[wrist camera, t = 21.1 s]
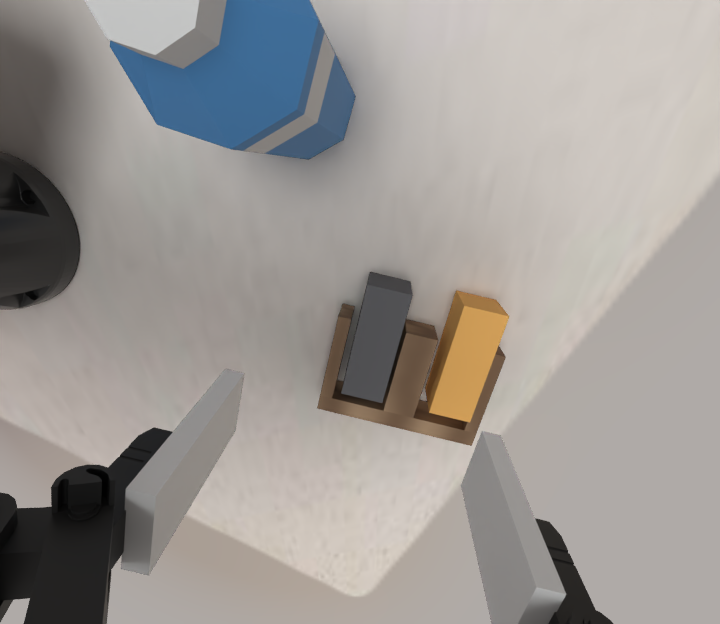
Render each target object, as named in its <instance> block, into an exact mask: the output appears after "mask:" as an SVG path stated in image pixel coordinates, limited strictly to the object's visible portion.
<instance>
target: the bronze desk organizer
mask: <svg viewBox="0 0 720 624" xmlns="http://www.w3.org/2000/svg"><path fill="white" fill-rule="evenodd" d="M353 311H354V306H350V305H346V304H343V305H342V308H341V311H340V313H339V316H338V320H337V325H336V329H335V333H334V338H333V342H332V346H331V351H330V355H329V359H328V364H327V368H326V372H325V377H324V381H323V385H322V390H321V394H320V398H319V403H318V407H317V408H318V409H322V410H326V411H330V412H334V413H338V414H343V415H347V416H351V417H355V418H359V419H363V420H367V421H371V422H376V423H380V424H384V425H388V426H392V427H396V428H400V429H404V430H409V431H413V432H417V433H421V434H425V435H429V436H433V437H437V438H442V439H446V440H450V441H454V442H458V443H462V444H466V445H470V446H472V443H473V441H474V438H475V435H476V433H477V430H478V428H479V425H480V422H481V420H482V417H483V415H484V412H485V409H486V407H487V404H488V402H489V399H490V397H491V394H492V391H493V389H494V386H495V384H496V381H497V378H498V376H499V373H500V371H501V368H502V365H503V363H504V360H505V358H506V357H505V355H504V354H503V352H502V350H501V349H500V347H499V346H498V348H497V351H496V354H495V357H494V359H493V362H492V365H491V367H490V370H489V373H488V375H487V378H486V381H485V383H484V386H483V389H482V392H481V394H480V397H479V400H478V402H477V405H476V408H475V410H474V413H473V416H472V419H471V421H470V422H466V421H462V420H457V419H453V418H449V417H445V416H441V415H437V414H432V413H429V409H428V402H425V401H421V400H419V398H420V395H421V392H422V389H423V386H424V383H425V380H426V377H427V374H428V370H429V367H430V364H431V361H432V358H433V355H434V352H435V349H436V346H437V342H438V338H437V335H436V331H435V328H434V326H432V325H428V324H424V323H420V322H415V321H411V320H407V319H406V320H405V324H404V328H403V331H402V335H401V338H400V342H399V345H398V349H397V352H396V356H395V359H394V363H393V366H392V370H391V374H390V377H389V381H388V384H387V388H386V391H385V395H384V398H383V402H382V403H379V402H375V401H371V400H366V399H362V398H358V397H354V396H350V395H345V394H341V392H342V387H343V383H344V382H343V381H339V380H337V377H338V373H339V369H340V365H341V361H342V357H343V352H344V348H345V344H346V340H347V336H348V332H349V328H350V324H351V319H352V315H353Z"/></svg>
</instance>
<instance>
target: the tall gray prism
mask: <svg viewBox="0 0 720 624" xmlns="http://www.w3.org/2000/svg"><path fill="white" fill-rule="evenodd" d="M412 296H413V295H412V289H411V283H410V281H407V280H403V279H398V278H394V277H390V276H386V275H382V274H378V273H373V272H370V274H369V279H368V283H367V287H366V291H365V295H364V299H363V303H362V307H361V312H360V316H359V320H358V324H357V328H356V332H355V336H354V340H353V345H352V349H351V353H350V357H349V361H348V365H347V369H346V374H345V378H344V383H343V387H342V392H341V394H345V395H350V396H354V397H358V398H362V399H366V400H371V401H375V402H379V403H382V402H383V398H384V395H385V391H386V388H387V384H388V381H389V377H390V374H391V370H392V366H393V363H394V359H395V356H396V352H397V349H398V345H399V342H400V338H401V335H402V331H403V328H404V324H405V320H406V317H407V313H408V310H409V306H410V303H411V299H412Z"/></svg>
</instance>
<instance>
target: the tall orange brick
mask: <svg viewBox="0 0 720 624" xmlns="http://www.w3.org/2000/svg"><path fill="white" fill-rule="evenodd" d="M508 319H509V316H508V314H507V313H506V312H505V311H504V309H503V308H502V307H501V306H500V304H499V303H498V302H497V301H496V300H493V299H489V298H485V297H481V296H477V295H473V294H468V293H464V292H460V291H456V293H455V296H454V299H453V302H452V306H451V309H450V312H449V315H448V318H447V321H446V324H445V328H444V331H443V334H442V337H441V340H440V343H439V346H438V349H437V353H436V356H435V359H434V362H433V365H432V368H431V371H430V375H429V378H428V381H427V384H426V387H425V389H426V396H427V402H428V409H429V413H432V414H437V415H441V416H445V417H449V418H453V419H457V420H462V421H466V422H470V421H471V419H472V416H473V413H474V410H475V408H476V405H477V402H478V400H479V397H480V394H481V392H482V389H483V386H484V383H485V381H486V378H487V375H488V373H489V370H490V367H491V365H492V362H493V359H494V357H495V354H496V351H497V348H498V346H499V343H500V340H501V338H502V335H503V332H504V330H505V327H506V324H507V321H508Z"/></svg>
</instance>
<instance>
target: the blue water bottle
mask: <svg viewBox="0 0 720 624" xmlns="http://www.w3.org/2000/svg"><path fill="white" fill-rule="evenodd" d="M84 1H85V3H86V4H87V6H88V8H89V9H90V11H91V13H92V14H93V16H94V18H95V19H96V21H97V23H98V24H99V26H100V28H101V29H102V31H103V33H104V34H105V36H106V38H107V39H109V40H110V47H111V49H112V51H113V52H114V54H115V56H116V57H117V59H118V61H119V62H120V64H121V66H122V67H123V69H124V71H125V72H126V74H127V76H128V77H129V79H130V81H131V82H132V84H133V86H134V87H135V89H136V90H137V92H138V94H139V95H140V97H141V99H142V100H143V102H144V104H145V105H146V107H147V109H148V110H149V112H150V114H151V115H152V117H153V119H154V120H155V122H156V124H157V125H160V126H163V127H166V128H169V129H172V130H175V131H178V132H181V133H184V134H187V135H190V136H193V137H196V138H199V139H202V140H205V141H208V142H211V143H214V144H217V145H220V146H223V147H226V148H229V149H233V150H241V151H249V152H256V153H264V154H272V155H279V156H287V157H295V158H302V159H310V158H312V157H314V156H316V155H317V154H319V153H321V152H323V151H324V150H326V149H328V148H330V147H331V146H333V145H335V144H337V143H338V142H340V141H342V140H344V136H345V132H346V129H347V125H348V122H349V118H350V115H351V111H352V108H353V104H354V100H355V97H356V96H355V94H354V92H353V90H352V88H351V86H350V84H349V82H348V79H347V77H346V75H345V73H344V71H343V69H342V67H341V65H340V62H339V60H338V58H337V56H336V54H335V52H334V50H333V48H332V46H331V44H330V41H329V39H328V37H327V35H326V33H325V31H324V29H323V27H322V25H321V23H320V21H319V18H318V16H317V14H316V12H315V10H314V8H313V6H312V4H311V2H310V0H84Z"/></svg>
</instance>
